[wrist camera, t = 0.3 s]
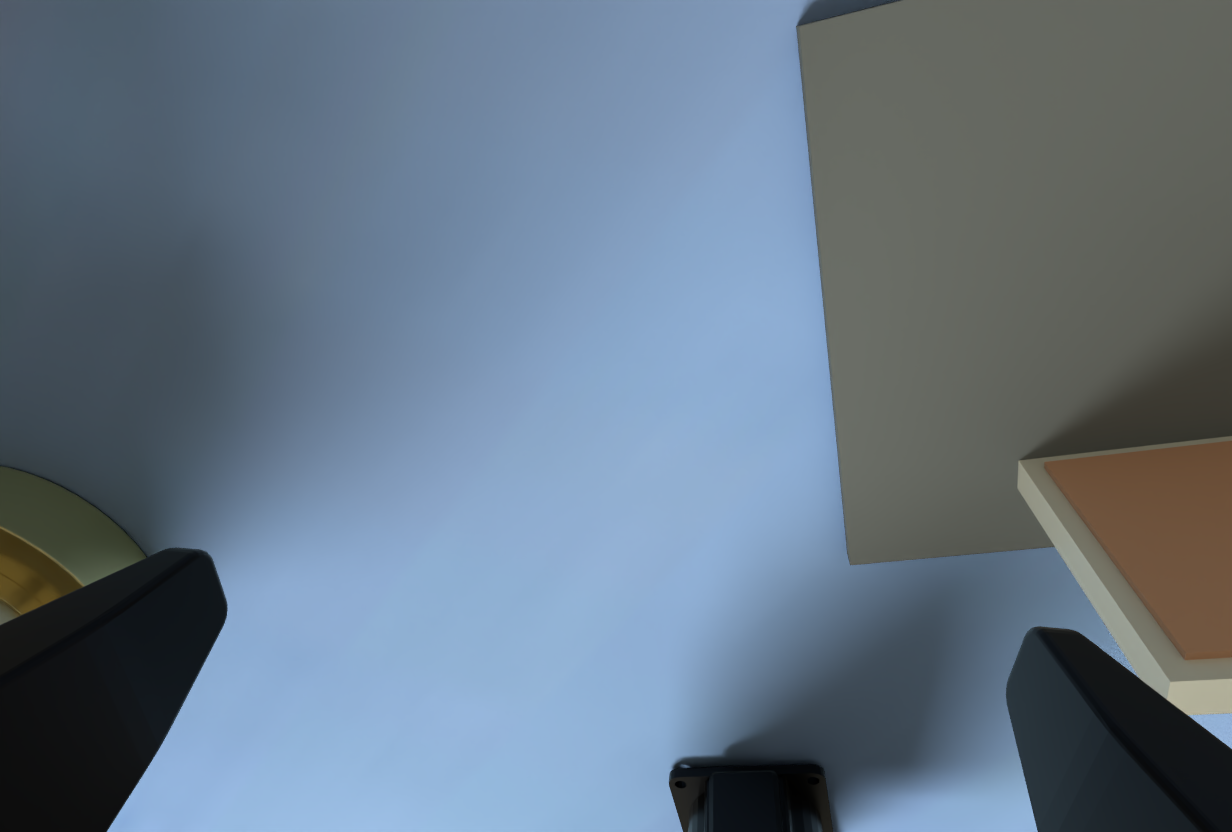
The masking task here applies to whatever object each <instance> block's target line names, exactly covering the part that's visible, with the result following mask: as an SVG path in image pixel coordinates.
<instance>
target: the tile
mask: <svg viewBox="0 0 1232 832" xmlns="http://www.w3.org/2000/svg"><path fill="white" fill-rule="evenodd" d="M1017 488H1018V490H1019V492H1020V493H1021V495H1022V496H1023V498H1024V499H1025V501H1026V502H1027V504H1028V506H1029V507H1030V509H1031V510H1032V512H1033V513H1034V515H1035V516H1036V518H1037V520H1038V521H1039V523H1040V524H1041V526H1042V527H1043V529H1044V530H1045V532H1046V534H1047V535H1048V537H1049V538H1050V540H1051V541H1052V543H1053V544H1054V546H1055V548H1056V549H1057V551H1058V552H1059V554H1060V555H1061V557H1062V559H1063V560H1064V562H1065V563H1066V565H1067V566H1068V568H1069V569H1070V571H1071V573H1072V574H1073V576H1074V577H1075V579H1076V580H1077V582H1078V583H1079V585H1080V587H1081V588H1082V590H1083V591H1084V593H1085V594H1086V596H1087V597H1088V599H1089V601H1090V602H1091V604H1092V605H1093V607H1094V608H1095V610H1096V611H1097V613H1098V615H1099V616H1100V618H1101V619H1102V621H1103V622H1104V624H1105V625H1106V627H1107V629H1108V630H1109V632H1110V633H1111V635H1112V636H1113V638H1114V639H1115V641H1116V643H1117V644H1118V646H1119V647H1120V649H1121V650H1122V652H1123V653H1124V655H1125V657H1126V658H1127V660H1128V661H1129V663H1130V664H1131V666H1132V667H1133V669H1134V671H1135V672H1136V674H1137V675H1138V677H1139V678H1140V679H1141V680H1142V681H1143V682H1145V683H1146V684H1147V685H1149V686H1150V687H1151V688H1153V689H1154V690H1155V691H1156V692H1158V693H1159V694H1160V695H1162V696H1163V697H1164V698H1166V699H1167V700H1168V701H1170V702H1171V703H1172V704H1173V705H1175V706H1176V707H1177V708H1179V709H1180V710H1181V711H1183V712H1184V713H1185V714H1186V715H1201V714H1224V713H1232V436H1227V437H1218V438H1210V439H1201V440H1192V441H1184V442H1175V443H1166V444H1158V445H1149V446H1140V447H1132V448H1123V449H1114V450H1105V451H1097V452H1088V453H1079V454H1071V455H1062V456H1053V457H1045V458H1036V459H1027V460H1019V462H1018V486H1017Z"/></svg>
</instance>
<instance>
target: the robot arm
mask: <svg viewBox="0 0 1232 832" xmlns="http://www.w3.org/2000/svg"><path fill="white" fill-rule="evenodd" d="M226 617H227V601H226V597H225V594H224V591H223V588H222V585H221V582H220V579H219V577H218V574H217V571H216V568H215V565H214V562H213V559H212V557H211V556H210V555H209V554H208V553H207V552H205V551H203V550H199V549H188V548H168V549H165V550H162V551H160V552H158V553H156V554H154V555H151V556H149V557H147V558H145V559H143V560H141V561H138V562H136V563H134V564H132V565H130V566H127V567H125V568H123V569H121V570H119V571H117V572H114V573H112V574H110V575H108V576H106V577H103V578H101V579H99V580H97V581H95V582H93V583H90V584H88V585H86V586H84V587H82V588H79V589H77V590H75V591H73V592H71V593H69V594H66V595H64V596H62V597H60V598H58V599H55V600H53V601H51V602H49V603H47V604H45V605H42V606H40V607H38V608H36V609H34V610H31V611H29V612H27V613H25V614H23V615H21V616H18V617H16V618H14V619H12V620H10V621H7V622H5V623H3V624H1V625H0V832H107V831H108V829H109V827H110V826H111V824H112V823H113V821H114V820H115V818H116V816H117V815H118V813H119V812H120V810H121V809H122V807H123V806H124V804H125V802H126V801H127V799H128V798H129V796H130V795H131V793H132V791H133V790H134V788H135V787H136V785H137V784H138V782H139V780H140V779H141V777H142V776H143V774H144V773H145V771H146V770H147V768H148V766H149V765H150V763H151V761H152V760H153V758H154V756H155V755H156V753H157V751H158V750H159V748H160V746H161V745H162V743H163V741H164V739H165V737H166V735H167V734H168V732H169V730H170V728H171V726H172V724H173V723H174V721H175V719H176V717H177V715H178V713H179V711H180V709H181V707H182V705H183V703H184V701H185V699H186V697H187V695H188V694H189V692H190V690H191V688H192V686H193V684H194V682H195V680H196V678H197V676H198V674H199V672H200V670H201V668H202V666H203V665H204V663H205V661H206V659H207V657H208V655H209V653H210V651H211V649H212V647H213V645H214V643H215V641H216V639H217V637H218V636H219V634H220V632H221V630H222V628H223V626H224V623H225V620H226ZM1006 699H1007V706H1008V711H1009V715H1010V719H1011V723H1012V727H1013V731H1014V735H1015V739H1016V744H1017V748H1018V752H1019V756H1020V760H1021V764H1022V768H1023V772H1024V776H1025V781H1026V785H1027V789H1028V793H1029V797H1030V801H1031V805H1032V809H1033V814H1034V818H1035V822H1036V826H1037V830H1038V832H1232V749H1231V748H1230V747H1228V746H1227V745H1226V744H1224V743H1223V742H1222V741H1220V740H1219V739H1218V738H1216V737H1215V736H1214V735H1213V734H1211V733H1210V732H1209V731H1207V730H1206V729H1205V728H1203V727H1202V726H1201V725H1200V724H1198V723H1197V722H1196V721H1194V720H1193V719H1192V718H1190V717H1189V716H1188V715H1186V714H1185V713H1184V712H1183V711H1181V710H1180V709H1179V708H1177V707H1176V706H1175V705H1173V704H1172V703H1171V702H1170V701H1168V700H1167V699H1166V698H1164V697H1163V696H1162V695H1160V694H1159V693H1158V692H1156V691H1155V690H1154V689H1153V688H1151V687H1150V686H1149V685H1147V684H1146V683H1145V682H1143V681H1142V680H1141V679H1139V678H1138V677H1137V676H1136V675H1134V674H1133V673H1132V672H1130V671H1129V670H1128V669H1126V668H1125V667H1124V666H1123V665H1121V664H1120V663H1119V662H1117V661H1116V660H1115V659H1113V658H1112V657H1111V656H1109V655H1108V654H1107V653H1106V652H1104V651H1103V650H1102V649H1100V648H1099V647H1098V646H1096V645H1095V644H1094V643H1093V642H1091V641H1090V640H1089V639H1087V638H1086V637H1085V636H1083V635H1082V634H1080V633H1079V632H1076V631H1074V630H1070V629H1060V628H1049V627H1034V628H1032V629H1030V630H1029V631H1028V632H1027V633H1026V635H1025V637H1024V639H1023V642H1022V645H1021V647H1020V650H1019V652H1018V655H1017V658H1016V660H1015V663H1014V665H1013V668H1012V671H1011V673H1010V676H1009V678H1008V682H1007V688H1006ZM669 786H670V790H671V793H672V796H673V800H674V803H675V806H676V809H677V813H678V816H679V819H680V823H681V826H682V829H683V832H833V828H832V821H831V814H830V807H829V800H828V793H827V786H826V778H825V772H824V769H823V768H822V767H820V766H818V765H814V764H802V765H772V766H742V767H711V768H681V769H674V770H672V771H671V772H670V776H669Z"/></svg>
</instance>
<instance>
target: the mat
mask: <svg viewBox="0 0 1232 832" xmlns="http://www.w3.org/2000/svg"><path fill="white" fill-rule="evenodd" d="M796 28H797V38H798V48H799V59H800V69H801V79H802V90H803V100H804V110H805V121H806V131H807V141H808V152H809V162H810V173H811V183H812V193H813V204H814V214H815V224H816V235H817V245H818V255H819V266H820V276H821V286H822V297H823V307H824V317H825V328H826V338H827V349H828V359H829V369H830V380H831V390H832V400H833V411H834V421H835V431H836V442H837V452H838V462H839V473H840V483H841V493H842V504H843V514H844V525H845V535H846V545H847V554H848V558H849V562H850V565H858V564H869V563H880V562H891V561H902V560H914V559H925V558H936V557H947V556H958V555H969V554H980V553H991V552H1002V551H1013V550H1024V549H1035V548H1046V547H1055V546H1054V544H1053V543H1052V541H1051V540H1050V538H1049V537H1048V535H1047V534H1046V532H1045V530H1044V529H1043V527H1042V526H1041V524H1040V523H1039V521H1038V520H1037V518H1036V516H1035V515H1034V513H1033V512H1032V510H1031V509H1030V507H1029V506H1028V504H1027V502H1026V501H1025V499H1024V498H1023V496H1022V495H1021V493H1020V492H1019V490H1018V488H1017V486H1018V462H1019V460H1027V459H1036V458H1045V457H1053V456H1062V455H1071V454H1079V453H1088V452H1097V451H1105V450H1114V449H1123V448H1132V447H1140V446H1149V445H1158V444H1166V443H1175V442H1184V441H1192V440H1201V439H1210V438H1218V437H1227V436H1232V0H899V1H895V2H891V3H887V4H883V5H879V6H875V7H871V8H867V9H863V10H859V11H855V12H851V13H847V14H843V15H839V16H835V17H831V18H827V19H823V20H819V21H815V22H811V23H807V24H803V25H799V26H796Z"/></svg>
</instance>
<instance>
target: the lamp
mask: <svg viewBox="0 0 1232 832" xmlns="http://www.w3.org/2000/svg"><path fill="white" fill-rule="evenodd" d="M145 558H147V557H146V556H145V554H144V553H143V552H142V551H141V549H140V548H139V547H138V546H137V544H136V543H135V542H134V541H133V540H132V539H131V538H130V537H129V536H128V535H127V534H126V533H125V532H124V531H123V530H122V529H121V528H120V527H119V526H118V525H117V524H116V523H114V522H113V521H112V520H111V519H110V518H109V517H107V516H106V515H105V514H103V513H102V512H101V511H100V510H98V509H97V508H96V507H94V506H93V505H91V504H90V503H88V502H87V501H85V500H84V499H82V498H80V497H79V496H77V495H75V494H74V493H72V492H70V491H68V490H66V489H65V488H63V487H61V486H59V485H56V484H54V483H52V482H50V481H48V480H45V479H43V478H40V477H38V476H35V475H32V474H29V473H27V472H23V471H20V470H16V469H12V468H8V467H3V466H0V625H1V624H3V623H5V622H7V621H10V620H12V619H14V618H16V617H18V616H21V615H23V614H25V613H27V612H29V611H31V610H34V609H36V608H38V607H40V606H42V605H45V604H47V603H49V602H51V601H53V600H55V599H58V598H60V597H62V596H64V595H66V594H69V593H71V592H73V591H75V590H77V589H79V588H82V587H84V586H86V585H88V584H90V583H93V582H95V581H97V580H99V579H101V578H103V577H106V576H108V575H110V574H112V573H114V572H117V571H119V570H121V569H123V568H125V567H127V566H130V565H132V564H134V563H136V562H138V561H141V560H143V559H145Z"/></svg>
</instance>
